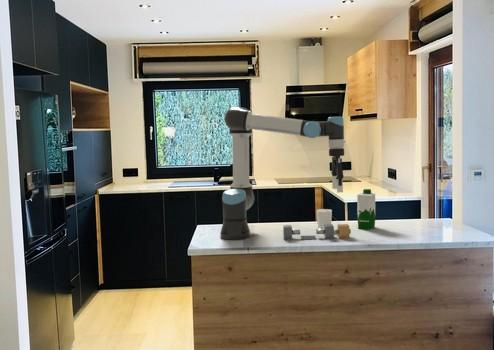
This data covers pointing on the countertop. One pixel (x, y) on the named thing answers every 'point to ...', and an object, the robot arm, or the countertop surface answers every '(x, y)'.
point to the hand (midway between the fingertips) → (337, 190)
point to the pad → (308, 237)
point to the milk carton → (366, 209)
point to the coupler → (343, 231)
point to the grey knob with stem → (327, 231)
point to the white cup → (323, 217)
